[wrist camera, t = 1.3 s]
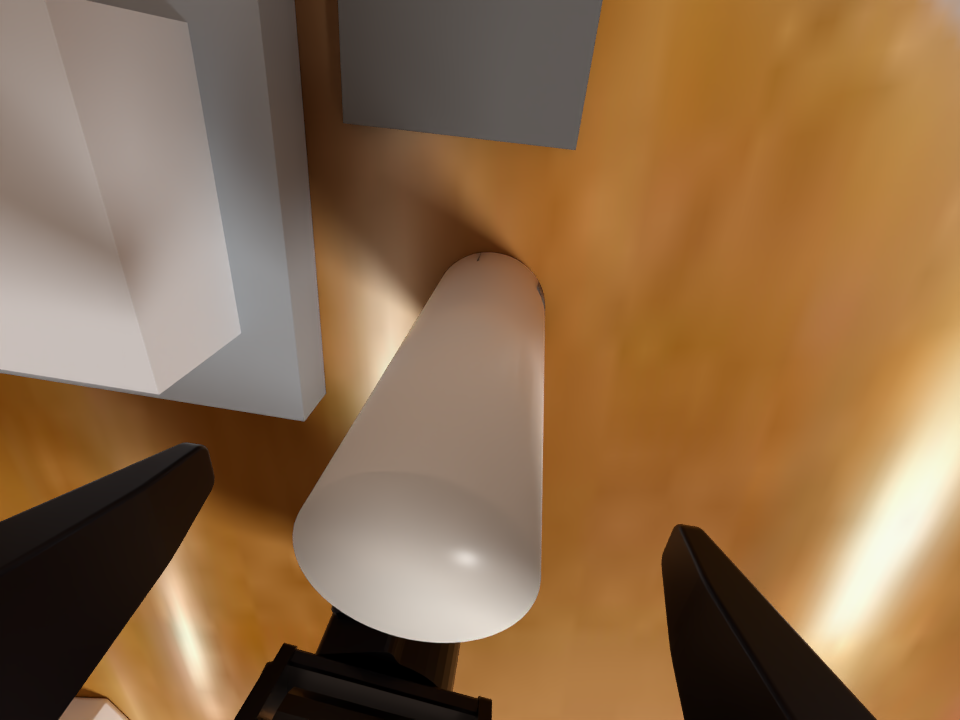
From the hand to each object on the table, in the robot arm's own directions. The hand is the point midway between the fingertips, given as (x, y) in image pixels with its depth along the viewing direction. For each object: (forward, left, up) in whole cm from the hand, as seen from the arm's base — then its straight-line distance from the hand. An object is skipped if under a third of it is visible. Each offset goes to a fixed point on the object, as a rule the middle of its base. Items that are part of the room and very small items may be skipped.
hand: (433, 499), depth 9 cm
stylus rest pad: (+9, -2, -9) cm, 13 cm away
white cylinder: (0, 0, -9) cm, 9 cm away
